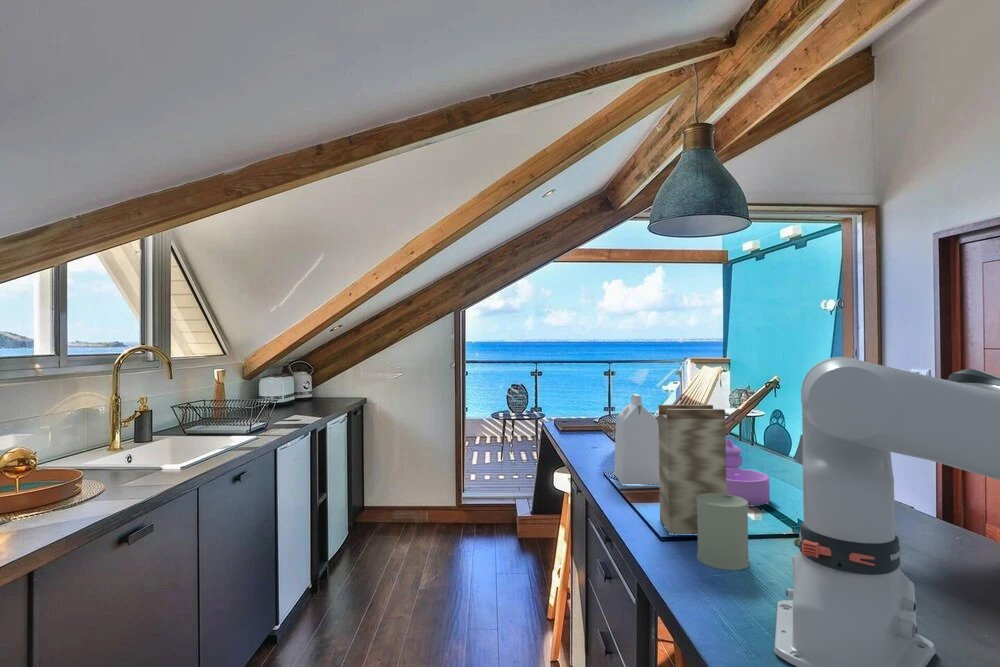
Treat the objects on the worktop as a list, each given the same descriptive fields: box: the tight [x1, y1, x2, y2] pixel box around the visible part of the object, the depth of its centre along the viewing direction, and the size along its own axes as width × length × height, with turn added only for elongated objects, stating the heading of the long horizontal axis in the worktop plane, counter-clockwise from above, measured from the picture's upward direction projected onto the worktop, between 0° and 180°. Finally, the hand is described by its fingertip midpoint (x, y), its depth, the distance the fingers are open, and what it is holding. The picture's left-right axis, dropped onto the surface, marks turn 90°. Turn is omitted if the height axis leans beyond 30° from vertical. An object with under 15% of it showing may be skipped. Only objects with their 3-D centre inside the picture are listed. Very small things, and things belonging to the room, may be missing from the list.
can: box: [696, 493, 751, 571], centre depth 101 cm, size 9×9×12 cm
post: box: [658, 404, 727, 535], centre depth 119 cm, size 12×10×27 cm
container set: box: [726, 439, 771, 506], centre depth 147 cm, size 25×15×13 cm, turn 165°
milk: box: [613, 393, 660, 484], centre depth 161 cm, size 12×12×26 cm
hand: (830, 374), depth 117 cm, fingers closed on steel bar, 3 cm apart
